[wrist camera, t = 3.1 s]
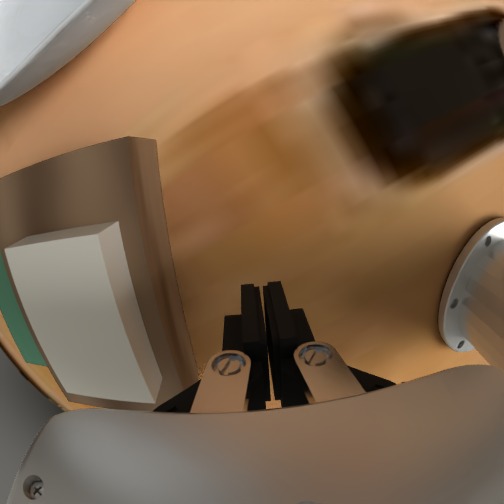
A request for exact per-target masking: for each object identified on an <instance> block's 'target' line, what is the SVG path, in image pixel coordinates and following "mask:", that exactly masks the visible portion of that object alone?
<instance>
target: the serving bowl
mask: <svg viewBox="0 0 504 504" xmlns="http://www.w3.org/2000/svg"><path fill="white" fill-rule="evenodd" d="M135 1H136V0H0V107H1V106H3V105H5V104H7V103H9V102H11V101H13V100H14V99H16V98H18V97H20V96H21V95H23V94H25V93H26V92H28V91H30V90H31V89H33V88H34V87H36V86H37V85H39V84H40V83H42V82H43V81H44V80H46V79H47V78H49V77H50V76H51V75H53V74H54V73H55V72H57V71H58V70H59V69H61V68H62V67H63V66H64V65H66V64H67V63H68V62H69V61H71V60H72V59H73V58H74V57H76V56H77V55H78V54H79V53H80V52H81V51H83V50H84V49H85V48H86V47H87V46H88V45H90V44H91V43H92V42H93V41H94V40H95V39H96V38H98V37H99V36H100V35H101V34H102V33H103V32H104V31H105V30H106V29H107V28H108V27H109V26H111V25H112V24H113V23H114V22H115V21H116V20H117V19H118V18H119V17H120V16H121V15H122V14H123V13H124V12H125V11H126V10H127V9H128V8H129V7H130V6H131V5H132V4H133V3H134V2H135Z"/></svg>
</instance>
